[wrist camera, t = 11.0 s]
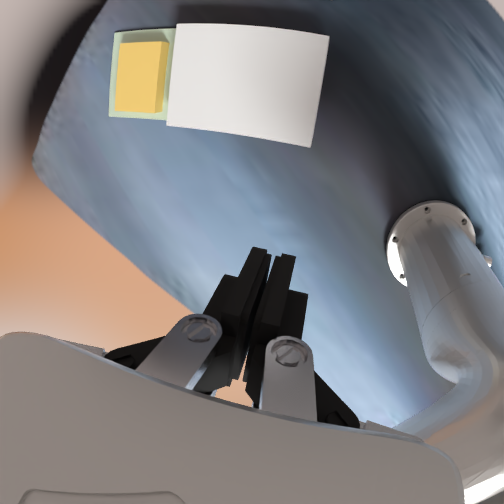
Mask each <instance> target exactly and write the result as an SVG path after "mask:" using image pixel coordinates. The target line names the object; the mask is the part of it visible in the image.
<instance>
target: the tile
mask: <svg viewBox="0 0 504 504" xmlns="http://www.w3.org/2000/svg"><path fill="white" fill-rule="evenodd" d="M168 51H169V43H168V42H162V41H157V42H134V43H120V49H119V58H118V68H117V80H116V95H115V111H126V112H143V113H158V112H162V109H163V98H164V87H165V77H166V68H167V59H168Z"/></svg>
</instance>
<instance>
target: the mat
mask: <svg viewBox="0 0 504 504" xmlns="http://www.w3.org/2000/svg"><path fill="white" fill-rule="evenodd" d="M175 35H176V28H171V29H151V30H137V31H126V32H117V33H115V36H114V45H113V55H112V66H111V80H110V97H109V117H129V118H145V119H158V120H167V113H168V100H169V89H170V78H171V68H172V59H173V51H174V43H175ZM157 41H162V42H168V43H169V51H168V59H167V68H166V77H165V87H164V98H163V109H162V112H158V113H143V112H126V111H115V95H116V80H117V68H118V58H119V49H120V43H134V42H157Z"/></svg>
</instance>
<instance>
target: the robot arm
mask: <svg viewBox="0 0 504 504" xmlns="http://www.w3.org/2000/svg"><path fill="white" fill-rule="evenodd" d="M426 207H427V209H425V208H426ZM462 219H463V220H462ZM393 237H396V238H393ZM475 244H476V239H475V232H474V228H473V225H472V223H471V221H470V219H469V218H468V217H467V215H466V214H465V213H464V212H463V211H462V210H461V209H460V208H458V207H457V206H455V205H453V204H452V203H448V202H445V201H439V200H432V201H425V202H422V203H419V204H417V205H415V206H413V207H411V208H409V209H408V210H407V211H405V212H404V213H403V214H402V215H401V216H400V217H399V218H398V219H397V220H396V222H395V223H394V225H393V227H392V228H391V230H390V233H389V235H388V239H387V244H386V256H387V261H388V264H389V267H390V270H391V271H392V273H393V275H394V276H395V277H396V279H397V280H398V281H399V282H401V283H402V284H404V285H405V286H407V287H408V290H409V294H410V297H411V301H412V304H413V308H414V312H415V316H416V319H417V323H418V327H419V331H420V336H421V340H422V344H423V348H424V352H425V355H426V358H427V360H428V362H429V364H430V365H431V367H432V368H433V369H434V370H435V371H436V372H437V373H438V374H439V375H441V376H442V377H443V378H445V379H447V380H449V381H451V382H453V383H455V384H457V385H456V386H455V387H454V388H453V389H452V390H451V391H449V392H448V393H447V394H445V395H444V396H443V397H441V398H440V399H438V400H437V401H436V402H435V403H433V404H432V405H430V406H429V407H427V408H426V409H424V410H422V411H421V412H419V413H417V414H416V415H414V416H412V417H411V418H409V419H407V420H405V421H404V422H402V423H400V424H398V425H397V426H395V427H393V428H389V427H386V426H383V425H380V424H377V423H374V422H371V421H368V420H367V422H366V423H364V422H361V421H359V420H358V418H357V416H356V415H355V414H354V412H353V411H352V410H351V409H350V408H349V407H348V406H347V405H346V404H345V403H344V402H343V401H342V400H341V399H340V398H339V397H338V396H337V395H336V393H335V392H334V391H333V390H332V389H331V388H330V387H329V386H328V385H327V384H326V383H325V382H324V381H323V380H322V379H321V378H320V376H319V375H318V374H317V373H316V372H315V371H314V364H313V354H312V350H311V349H310V347H309V346H308V345H307V344H306V343H305V342H304V341H302V340H301V339H302V333H303V326H304V320H305V313H306V307H307V300H308V294H306V293H302V292H297V291H293V290H289V285H290V281H291V277H292V272H293V268H294V263H295V259H296V256H292V255H287V254H283V253H282V256H281V257H279V256H276V257H275V260H274V263H273V266H272V269H271V272H270V275H269V278H268V280H267V277H268V272H269V267H270V261H271V256H272V255H271V254H267V250H266V249H261V248H257V247H252V249H251V251H250V253H249V256H248V258H247V260H246V262H245V264H244V266H243V268H242V270H241V272H240V274H239V276H238V277H235V276H230V275H226V274H225V275H224V276H223V278H222V279H221V281H220V283H219V285H218V287H217V288H216V290H215V292H214V294H213V296H212V298H211V299H210V301H209V303H208V305H207V307H206V309H205V310H204V312H203V314H191V315H188V316H185V317H183V318H182V319H181V320H180V321H178V323H177V324H176V325H175V326H174V327H173V328H172V329H171V331H170V332H169V333H168V334H167V335H166V336H163V337H159V338H156V339H152V340H148V341H145V342H141V343H137V344H133V345H130V346H126V347H121V348H117V349H115V350H112V351H110V352H109V353H107V352H105V350H104V349H102V348H98V347H93V346H88V345H83V344H78V343H74V342H69V341H65V340H60V339H56V338H53V337H50V336H46V335H42V334H38V333H30V332H12V333H8V334H5V335H3V336H1V337H0V504H504V288H503V287H502V285H501V283H500V282H499V280H498V279H497V277H496V276H495V274H494V273H493V271H492V270H491V268H490V266H491V264H492V258H491V257H489V256H486V255H481V252H480V251H479V250H478V248H477V247H476V245H475ZM266 282H267V283H266ZM247 352H248V354H247ZM246 355H247V360H246V366H245V370H244V376H243V382H247V384H246V389H245V391H246V392H247V394H248V395H249V396H250V398H251V399H252V401H253V403H252V407H248V406H245V405H241V404H237V403H233V402H230V401H226V400H223V399H219V398H216V397H215V394H216V391H217V389H219V388H222V387H225V386H229V387H230V385H231V382H232V379H236V380H238V379H239V376H240V373H241V370H242V367H243V364H244V361H245V358H246Z"/></svg>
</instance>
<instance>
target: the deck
mask: <svg viewBox="0 0 504 504" xmlns="http://www.w3.org/2000/svg"><path fill="white" fill-rule="evenodd" d="M328 46H329V36H325V35H320V34H314V33H308V32H302V31H295V30H288V29H280V28H271V27H261V26H250V25H234V24H177V27H176V35H175V43H174V51H173V59H172V68H171V78H170V89H169V100H168V113H167V126H176V127H186V128H194V129H203V130H210V131H218V132H225V133H232V134H238V135H245V136H251V137H257V138H263V139H268V140H274V141H279V142H285V143H290V144H295V145H300V146H305V147H309V148H310V147H311V143H312V139H313V134H314V128H315V123H316V117H317V112H318V106H319V100H320V95H321V89H322V83H323V77H324V71H325V65H326V59H327V53H328Z"/></svg>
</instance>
